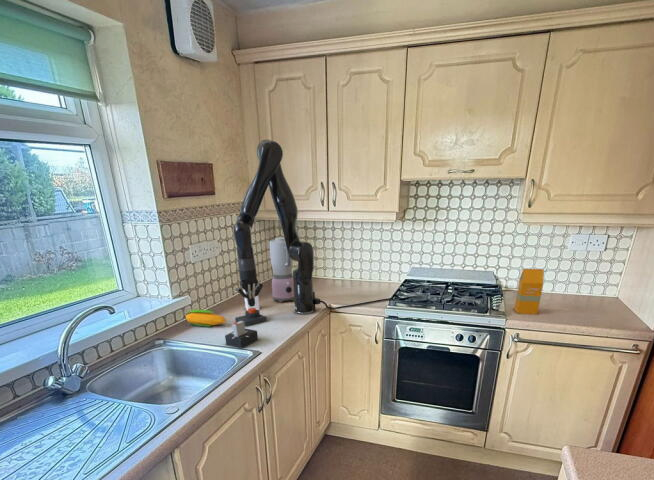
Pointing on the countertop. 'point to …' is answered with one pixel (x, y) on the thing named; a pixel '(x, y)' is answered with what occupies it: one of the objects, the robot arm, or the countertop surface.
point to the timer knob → (238, 328)
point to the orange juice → (529, 291)
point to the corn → (204, 318)
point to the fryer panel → (241, 338)
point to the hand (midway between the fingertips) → (251, 306)
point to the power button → (252, 310)
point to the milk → (255, 303)
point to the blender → (281, 271)
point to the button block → (251, 318)
